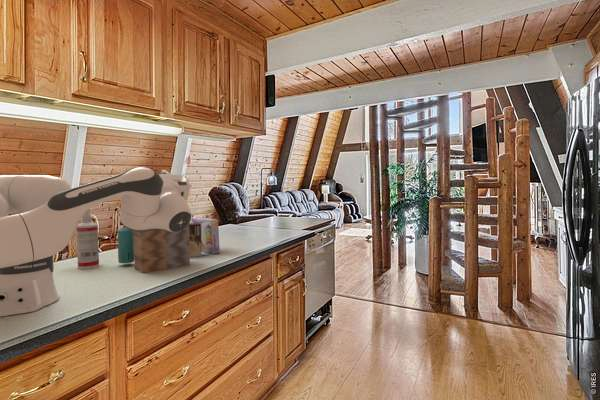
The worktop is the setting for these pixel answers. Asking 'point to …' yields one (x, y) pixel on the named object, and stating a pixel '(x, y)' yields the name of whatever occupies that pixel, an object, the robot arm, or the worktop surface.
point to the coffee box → (195, 239)
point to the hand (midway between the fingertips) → (149, 171)
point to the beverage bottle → (125, 245)
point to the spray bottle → (87, 243)
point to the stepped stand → (161, 249)
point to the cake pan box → (209, 234)
